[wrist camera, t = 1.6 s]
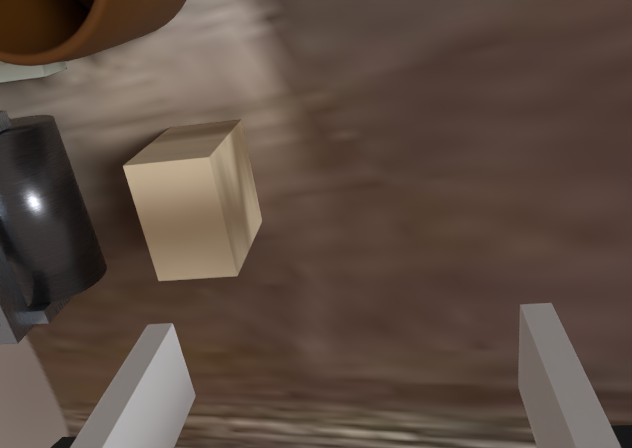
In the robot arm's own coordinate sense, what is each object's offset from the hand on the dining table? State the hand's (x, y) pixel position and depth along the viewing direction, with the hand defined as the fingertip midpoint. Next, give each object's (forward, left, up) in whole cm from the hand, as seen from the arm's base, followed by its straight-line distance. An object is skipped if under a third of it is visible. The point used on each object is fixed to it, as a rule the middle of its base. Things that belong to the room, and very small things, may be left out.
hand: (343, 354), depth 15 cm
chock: (0, -8, -16) cm, 18 cm away
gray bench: (0, -20, -16) cm, 25 cm away
